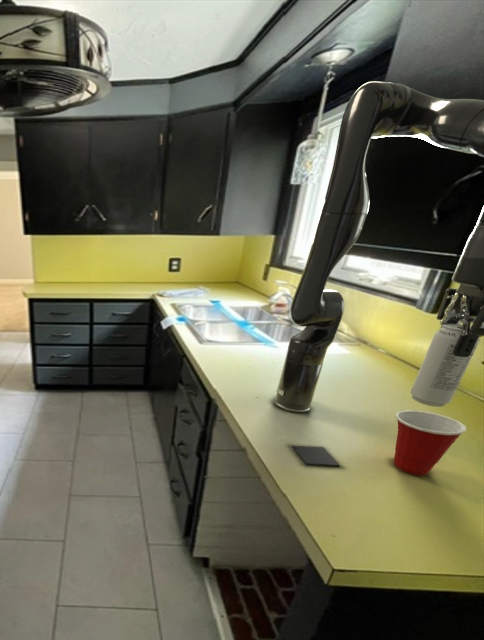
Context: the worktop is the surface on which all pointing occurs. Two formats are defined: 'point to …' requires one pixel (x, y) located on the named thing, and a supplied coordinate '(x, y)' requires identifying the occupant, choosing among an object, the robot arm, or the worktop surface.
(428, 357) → the energy drink can
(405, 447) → the plastic cup
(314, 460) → the coaster
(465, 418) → the worktop surface
